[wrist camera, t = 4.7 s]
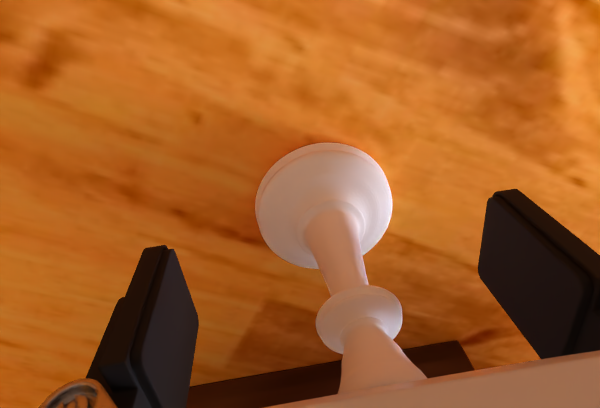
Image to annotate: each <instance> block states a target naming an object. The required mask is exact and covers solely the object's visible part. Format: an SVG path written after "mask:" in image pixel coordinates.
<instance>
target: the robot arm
mask: <svg viewBox="0 0 600 408" xmlns="http://www.w3.org/2000/svg"><path fill="white" fill-rule="evenodd" d="M478 273H479V276H480V278H481V280H482V281H483V282H484V284H485V285H486V286H487V288H488V289H489V290H490V292H491V293H492V294H493V296H494V297H495V298H496V300H497V301H498V302H499V304H500V305H501V306H502V308H503V309H504V310H505V312H506V313H507V314H508V316H509V317H510V318H511V320H512V321H513V322H514V324H515V325H516V326H517V328H518V329H519V330H520V332H521V333H522V334H523V335H524V337H525V338H526V339H527V341H528V342H529V343H530V345H531V346H532V347H533V349H534V350H535V351H536V353H537V354H538V355H539V357H540V358H541V359H540V360H534V361H528V362H522V363H516V364H510V365H504V366H498V367H492V368H486V369H480V370H475V371H469V372H463V373H457V374H451V375H445V376H439V377H434V378H428V379H422V380H416V381H410V382H405V383H399V384H393V385H387V386H382V387H376V388H370V389H364V390H359V391H353V392H347V393H342V394H336V395H330V396H325V397H319V398H314V399H308V400H303V401H297V402H291V403H286V404H280V405H275V406H269V407H264V408H600V255H599V254H597V253H596V252H595V251H594V250H592V249H591V248H590V247H589V246H587V245H586V244H585V243H584V242H582V241H581V240H580V239H579V238H577V237H576V236H575V235H574V234H572V233H571V232H570V231H569V230H567V229H566V228H565V227H564V226H562V225H561V224H560V223H559V222H558V221H556V220H555V219H554V218H553V217H551V216H550V215H549V214H548V213H546V212H545V211H544V210H543V209H541V208H540V207H539V206H538V205H536V204H535V203H534V202H533V201H531V200H530V199H529V198H528V197H526V196H525V195H524V194H523V193H522V192H520V191H519V190H517V189H511V190H504V191H498V192H495V193H494V194H493V196H492V197H491V198H489V199H488V201H487V207H486V214H485V221H484V228H483V235H482V242H481V249H480V256H479V263H478ZM198 326H199V321H198V315H197V312H196V309H195V306H194V303H193V301H192V298H191V295H190V292H189V289H188V286H187V284H186V281H185V278H184V275H183V272H182V270H181V267H180V264H179V261H178V258H177V256H176V253H175V251H174V249H168V248H167V246H166V245H161V246H155V247H149V248H145V249H144V250H143V252H142V255H141V258H140V260H139V263H138V265H137V268H136V270H135V273H134V275H133V278H132V280H131V283H130V285H129V288H128V290H127V293H126V295H125V297H122V298H121V299H119V300H118V302H117V304H116V306H115V309H114V311H113V313H112V316H111V318H110V321H109V323H108V326H107V328H106V330H105V333H104V335H103V338H102V340H101V342H100V345H99V347H98V350H97V352H96V355H95V357H94V359H93V362H92V364H91V367H90V369H89V372H88V374H87V376H86V379H78V380H75V381H72V382H69V383H67V384H65V385H64V386H62V387H60V388H58V389H57V390H56V391H54V392H53V393H52V394H51V395H50V396H48V397H47V398H46V399H45V401H44V402H43V403H42V404H41V405H40V406H39V408H186V405H187V398H188V392H189V385H190V379H191V372H192V366H193V359H194V353H195V346H196V339H197V333H198Z"/></svg>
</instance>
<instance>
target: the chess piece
mask: <svg viewBox="0 0 600 408" xmlns="http://www.w3.org/2000/svg"><path fill="white" fill-rule="evenodd" d="M255 214H256V219H257V223H258V225H259V229H260V232H261V235H262V237H263V239H264V241H265V242H266V244H267V245H268V246H269V248H270V249H271V250H272V251H273V252H274V253H275V254H276V255H278V256H279V257H280V258H282V259H284V260H285V261H287V262H289V263H292V264H294V265H297V266H300V267H305V268H312V269H320V271H321V273H322V276H323V278H324V280H325V283H326V285H327V287H328V290H329V293H330V295H331V297H330V298H329V299H328V300H327V301H326V302H325V303H324V304H323V305H322V307H321V308H320V310H319V311H318V314H317V317H316V330H317V333H318V335H319V336H320V338H321V339H322V341H323V343H324V344H325V345H326V346H327V347H328V348H329V349H331V350H333V351H335V352H337V353H340V354H343V357H342V365H341V367H342V373H341V382H340V388H339V391H338V394H342V393H347V392H353V391H359V390H364V389H370V388H376V387H382V386H387V385H393V384H399V383H405V382H410V381H416V380H422V379H428V378H427V377H426V376H425V375H424V374H423V373H422V371H421V370H420V369H418V368H417V367H416V366H415V365H414V364H413V363H412V362H411V361H410V360H409V359H408V358H407V356H406V355H405V354H404V353H403V351H402V350H401V348H400V347H399V346H398V345H397V344H396V343H395V342H394V341H393V339H394V338H395V337H396V336H397V334H398V332H399V331H400V329H401V326H402V307H401V304H400V302H399V300H398V298H397V297H396V296H395V295H394V294H393V293H391V292H390V291H388V290H386V289H384V288H381V287H377V286H371V285H369V284H368V280H367V276H366V272H365V267H364V262H363V257H362V256H363V255H364V254H366V253H367V252H368V251H369V250H371V249H372V248H373V247H374V246H375V245H376V244H377V242H378V241H379V240H380V239H381V237H382V236H383V234H384V233H385V231H386V229H387V227H388V224H389V222H390V218H391V214H392V195H391V191H390V188H389V185H388V181H387V179H386V176H385V174H384V172H383V170H382V169H381V167H380V166H379V165H378V163H377V162H376V161H375V160H374V159H373V158H371V157H370V156H369V155H368V154H366V153H365V152H363V151H361V150H359V149H357V148H355V147H352V146H349V145H345V144H341V143H330V142H328V143H316V144H311V145H307V146H304V147H301V148H298V149H296V150H294V151H292V152H290V153H288V154H287V155H285V156H284V157H282V158H281V159H280V160H278V161H277V162H276V163H275V164H274V165H273V166H272V167H271V168H270V169H269V171H268V172H267V173H266V175H265V176H264V178H263V179H262V181H261V183H260V186H259V188H258V191H257V195H256V200H255Z"/></svg>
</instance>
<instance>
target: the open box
mask: <svg viewBox="0 0 600 408" xmlns="http://www.w3.org/2000/svg"><path fill="white" fill-rule="evenodd" d="M402 351H403V353H404V354H405V355H406V356H407V358H408V359H409V360H410V361H411V362H412V363H413V364H414V365H415V366H416V367H417V368H418V369H420V370H421V371H422V373H423V374H424V375H425V376H426V377H427V378H434V377H439V376H445V375H451V374H457V373H463V372H469V371H475V369H474V368H473V366H472V364H471V362H470V361H469V359H468V357H467V355H466V354H465V352H464V350H463V348H462V347H461V345H460V343H459V341H452V342H446V343H441V344H435V345H429V346H423V347H418V348H412V349H406V350H402ZM341 365H342V361H337V362H332V363H326V364H320V365H314V366H309V367H303V368H297V369H292V370H286V371H280V372H274V373H269V374H263V375H257V376H251V377H246V378H240V379H234V380H229V381H223V382H217V383H211V384H206V385H200V386H194V387H189V392H188V398H187V405H186V408H264V407H269V406H275V405H280V404H286V403H291V402H297V401H303V400H308V399H314V398H319V397H325V396H330V395H336V394H338V391H339V388H340V382H341V373H342V367H341Z"/></svg>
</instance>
